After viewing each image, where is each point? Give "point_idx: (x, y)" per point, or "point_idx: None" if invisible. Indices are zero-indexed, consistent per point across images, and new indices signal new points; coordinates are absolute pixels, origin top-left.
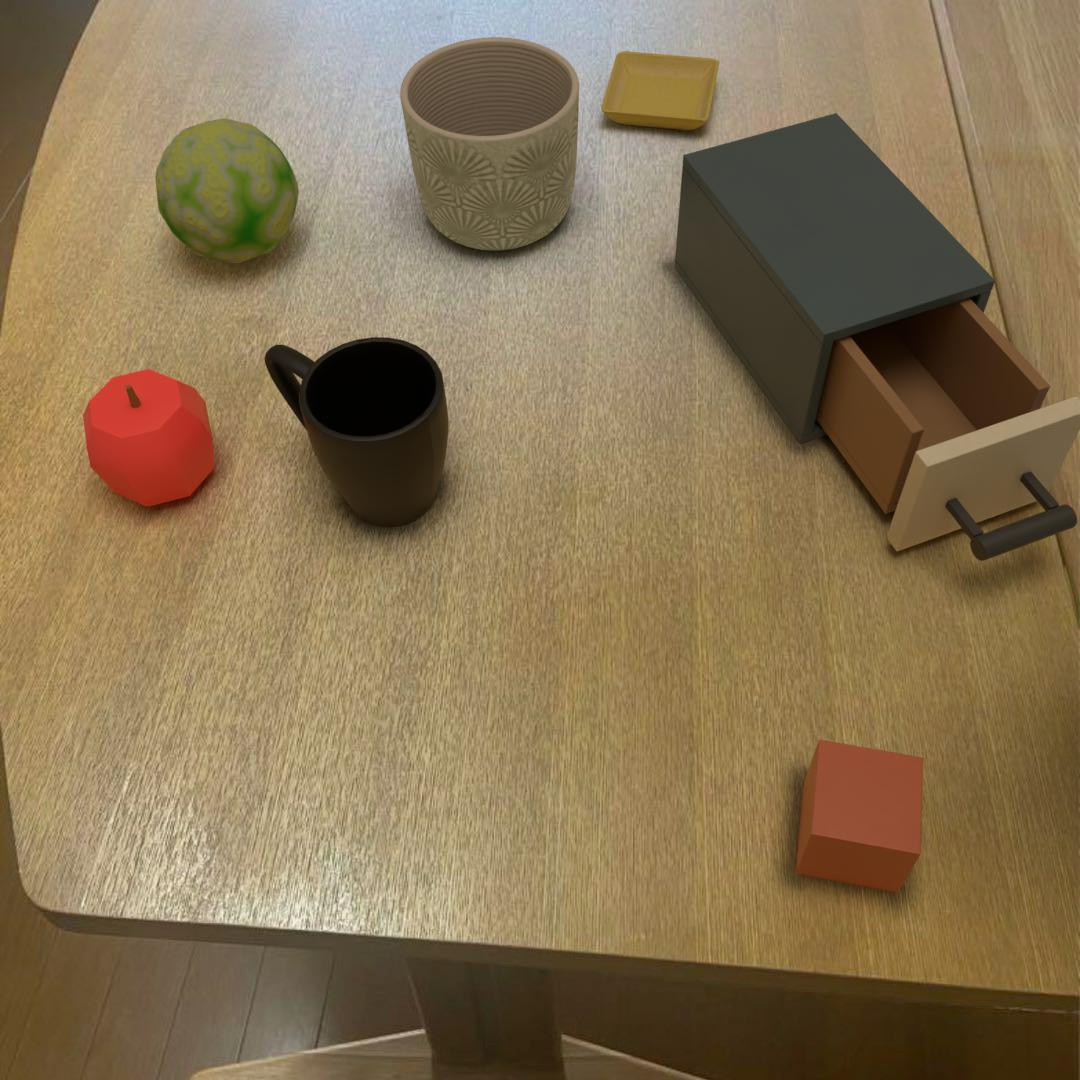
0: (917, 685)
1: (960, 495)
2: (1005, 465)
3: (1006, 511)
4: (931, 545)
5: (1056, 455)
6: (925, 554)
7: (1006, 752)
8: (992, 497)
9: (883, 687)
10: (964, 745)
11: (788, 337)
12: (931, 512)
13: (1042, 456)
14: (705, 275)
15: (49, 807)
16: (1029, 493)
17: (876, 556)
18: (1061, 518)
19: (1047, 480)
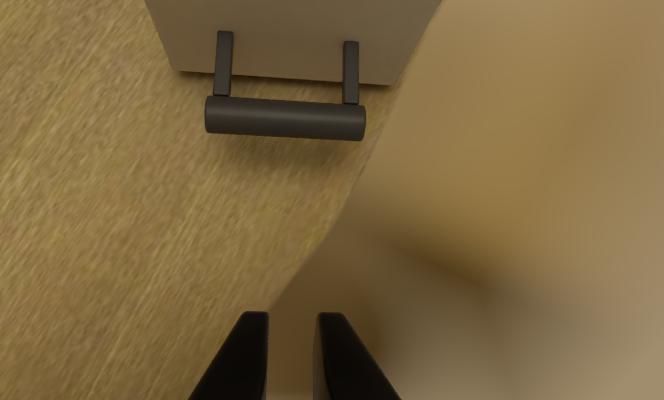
0: (84, 239)
1: (239, 31)
2: (306, 14)
3: (336, 81)
4: (234, 81)
5: (398, 35)
6: None
7: (122, 367)
8: (303, 55)
9: (43, 224)
10: (80, 337)
11: None
12: (196, 37)
13: (374, 26)
14: None
15: None
16: (366, 71)
17: (162, 65)
18: (341, 123)
19: (391, 65)
